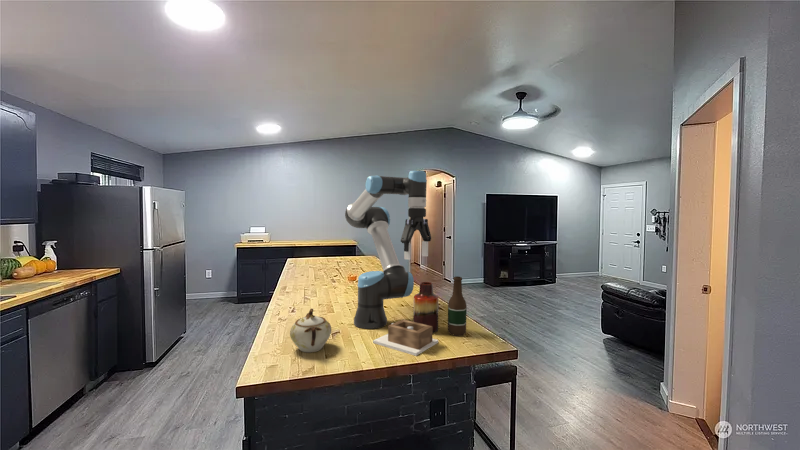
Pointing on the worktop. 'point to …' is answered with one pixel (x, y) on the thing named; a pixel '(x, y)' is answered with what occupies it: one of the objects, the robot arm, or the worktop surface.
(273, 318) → the worktop surface
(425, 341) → the frame
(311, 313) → the sugar bowl
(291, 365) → the worktop surface
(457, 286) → the beer bottle
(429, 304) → the vase
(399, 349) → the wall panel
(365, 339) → the worktop surface
